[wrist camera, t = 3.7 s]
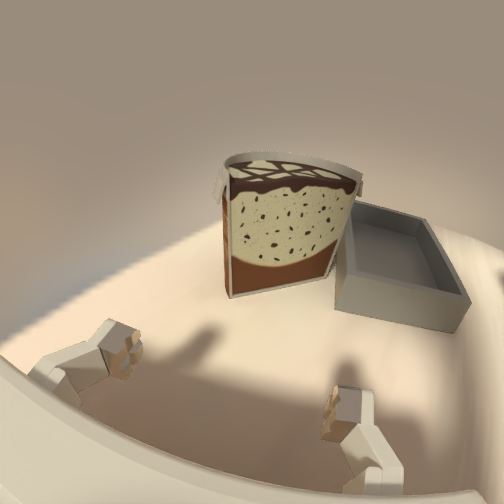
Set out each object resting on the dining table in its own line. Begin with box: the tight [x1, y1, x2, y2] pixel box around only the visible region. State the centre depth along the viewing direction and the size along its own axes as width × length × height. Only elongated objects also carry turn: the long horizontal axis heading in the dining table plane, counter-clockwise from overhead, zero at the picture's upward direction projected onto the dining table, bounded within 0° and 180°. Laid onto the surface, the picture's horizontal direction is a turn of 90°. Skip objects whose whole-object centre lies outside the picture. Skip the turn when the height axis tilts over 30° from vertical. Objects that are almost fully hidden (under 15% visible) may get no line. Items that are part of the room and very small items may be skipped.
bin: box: [334, 200, 472, 333], centre depth 29 cm, size 12×18×4 cm, turn 166°
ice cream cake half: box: [213, 151, 363, 299], centre depth 25 cm, size 12×6×10 cm, turn 114°
